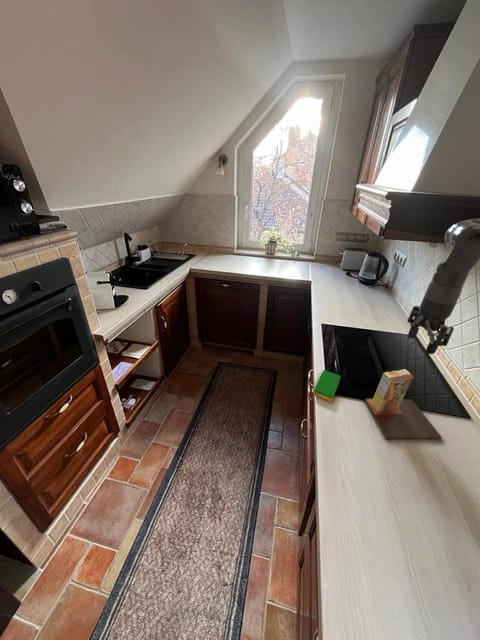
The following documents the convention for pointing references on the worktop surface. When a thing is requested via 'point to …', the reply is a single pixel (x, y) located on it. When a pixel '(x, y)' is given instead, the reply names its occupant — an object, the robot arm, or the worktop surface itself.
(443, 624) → the worktop surface
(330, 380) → the dish sponge
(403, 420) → the board
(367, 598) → the worktop surface
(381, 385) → the candy box
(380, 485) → the worktop surface
